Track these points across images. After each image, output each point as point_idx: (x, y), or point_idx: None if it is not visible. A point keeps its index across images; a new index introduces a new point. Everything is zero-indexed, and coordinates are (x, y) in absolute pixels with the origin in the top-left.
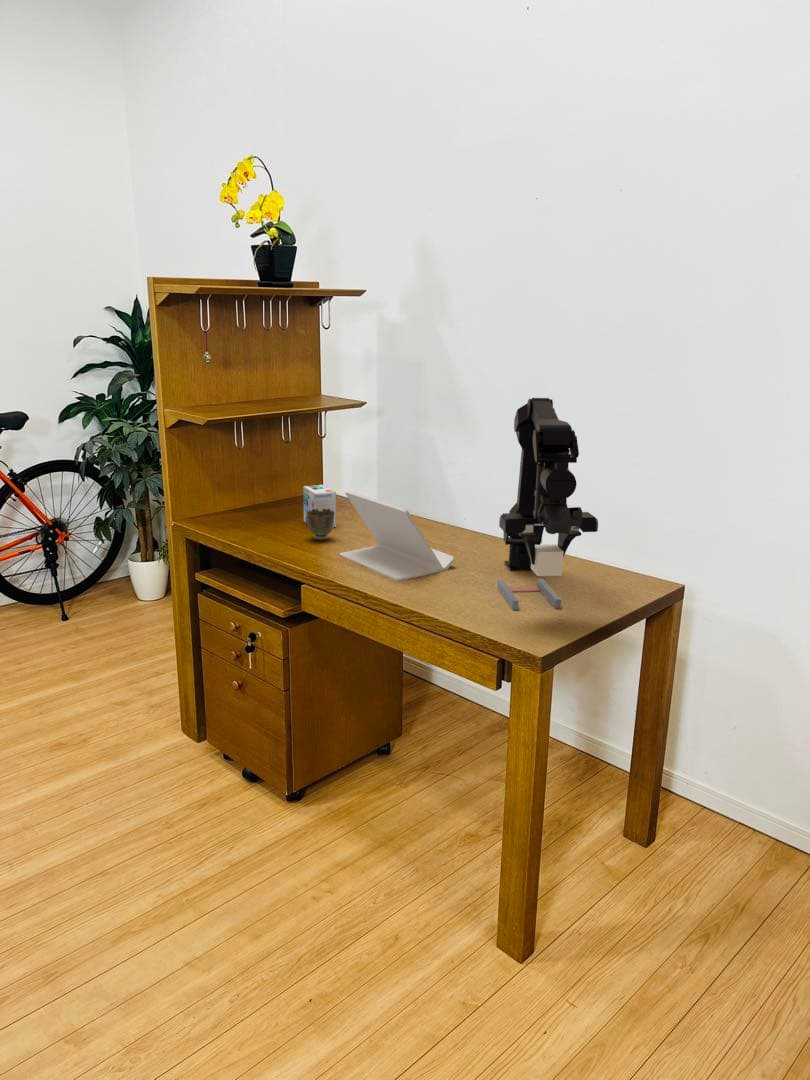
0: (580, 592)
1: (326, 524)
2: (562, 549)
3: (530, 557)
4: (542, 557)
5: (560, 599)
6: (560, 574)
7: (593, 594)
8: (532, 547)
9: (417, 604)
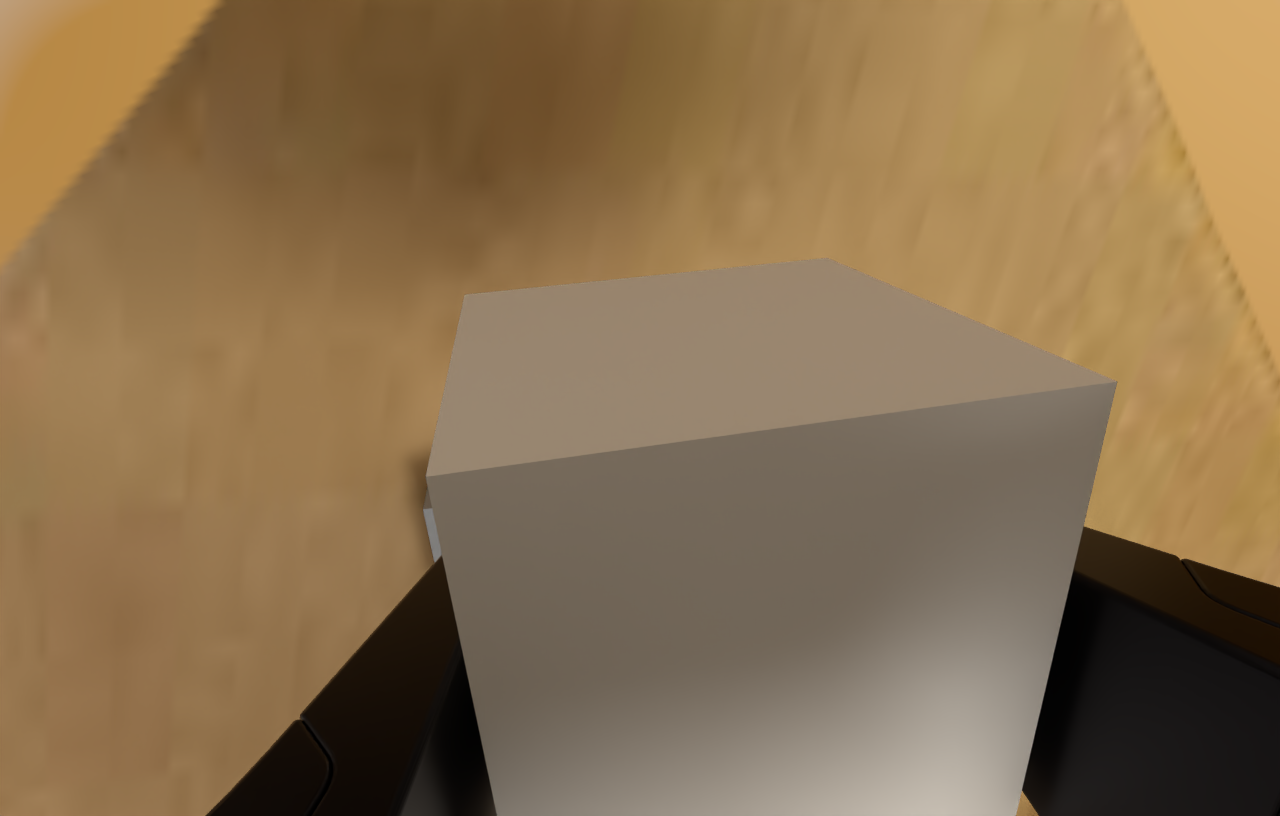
0: (252, 754)
1: None
2: (422, 693)
3: None
4: (934, 345)
5: (427, 510)
6: (488, 298)
7: (158, 735)
8: (1205, 593)
9: (1234, 480)
